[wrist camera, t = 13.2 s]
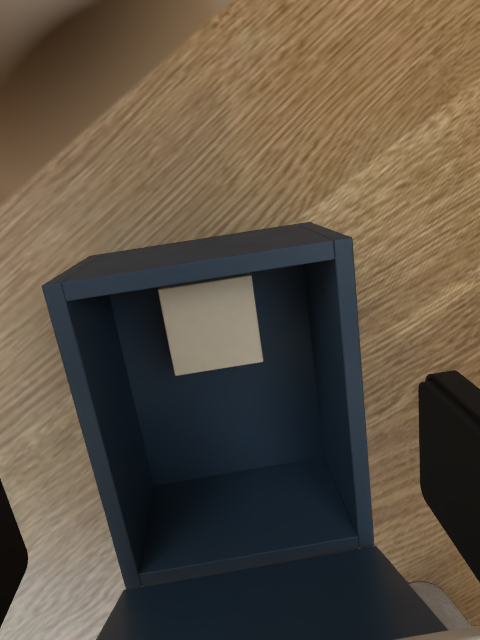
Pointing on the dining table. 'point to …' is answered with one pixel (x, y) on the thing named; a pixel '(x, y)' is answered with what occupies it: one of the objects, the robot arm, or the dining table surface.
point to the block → (211, 323)
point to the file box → (221, 406)
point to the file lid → (279, 604)
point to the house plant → (440, 605)
